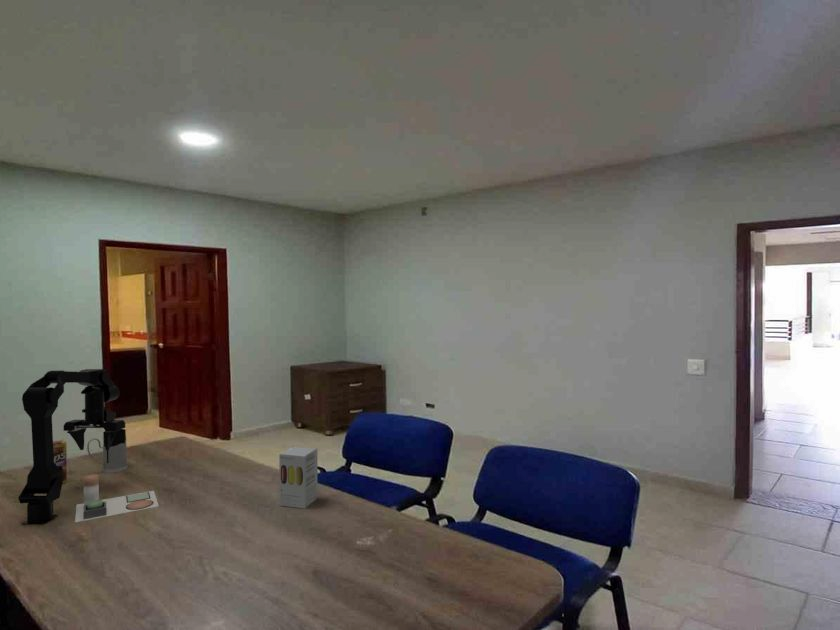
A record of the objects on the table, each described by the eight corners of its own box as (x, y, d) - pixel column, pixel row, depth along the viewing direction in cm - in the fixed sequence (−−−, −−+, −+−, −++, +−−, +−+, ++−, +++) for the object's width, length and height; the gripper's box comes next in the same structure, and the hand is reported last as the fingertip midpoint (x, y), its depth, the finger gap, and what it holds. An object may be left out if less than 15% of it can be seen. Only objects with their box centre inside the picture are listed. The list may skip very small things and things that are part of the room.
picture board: (74, 524, 149) (74, 521, 149) (76, 506, 163) (76, 503, 163) (158, 507, 161) (158, 505, 161) (153, 492, 175) (153, 490, 175)
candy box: (36, 489, 178) (35, 445, 177) (34, 486, 181) (34, 443, 181) (67, 483, 184) (66, 441, 184) (65, 480, 187) (64, 438, 187)
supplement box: (278, 506, 162) (277, 453, 162) (292, 495, 171) (291, 445, 171) (305, 509, 160) (305, 455, 159) (318, 498, 169) (318, 447, 168)
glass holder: (132, 468, 201) (132, 430, 200) (93, 478, 189) (93, 438, 188) (120, 464, 205) (120, 427, 205) (82, 474, 193) (81, 435, 193)
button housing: (83, 519, 151) (83, 511, 151) (84, 512, 156) (83, 505, 156) (106, 515, 154) (106, 507, 154) (106, 508, 159) (106, 501, 159)
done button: (87, 511, 153) (87, 506, 153) (87, 506, 156) (87, 501, 156) (102, 508, 155) (102, 503, 155) (102, 503, 158) (102, 499, 158)
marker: (94, 508, 160) (93, 478, 159) (80, 508, 159) (80, 478, 159) (102, 503, 164) (101, 473, 164) (88, 503, 164) (88, 474, 163)
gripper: (134, 401, 184) (135, 444, 184) (85, 401, 185) (85, 443, 185) (114, 407, 173) (115, 452, 173) (62, 406, 174) (62, 452, 174)
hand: (94, 450), depth 177 cm, fingers open, 9 cm apart
